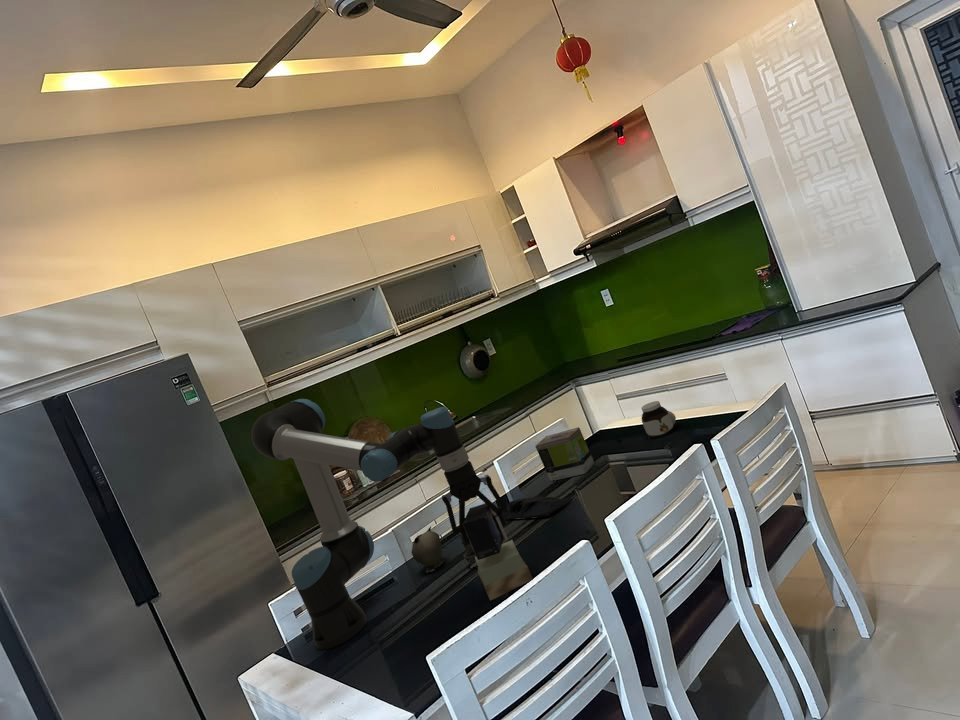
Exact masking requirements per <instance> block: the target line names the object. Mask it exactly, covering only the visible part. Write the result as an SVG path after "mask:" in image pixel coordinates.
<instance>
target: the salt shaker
mask: <svg viewBox="0 0 960 720" xmlns="http://www.w3.org/2000/svg"><path fill="white" fill-rule="evenodd" d="M458 534H459V537H460V539H461V544H462V545H463V547H464V549H465V553H464V554H463V559H464V560H465V561H466V562H468V563H474V562H476V560H475V556H476V554H475V552H474V550H473V548H472V545H471V543H470V542H469V543H465V541H464V538H463V536H462V534H461V533H458Z"/></svg>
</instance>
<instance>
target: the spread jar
mask: <svg viewBox="0 0 960 720" xmlns="http://www.w3.org/2000/svg"><path fill="white" fill-rule="evenodd" d="M640 409H641V411H642V414H641V423H642V426H643V428H644V430H645V432H646V434H647V435H648V436H649V437H651V438H654V439H657V438H658V439H659V438H663V437H665V436H667V435H669V434H670V433H671V432H672V431H673V429H674V425H675V424H676V418H677V417H676V414H674V413H673V412H672V411H671V410H668V409H667V408H665V407H663V406H661V402H660V401H659V400H654V401H651V402H648V403H645V404H644V405H642V406H641V408H640Z"/></svg>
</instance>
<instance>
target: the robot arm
mask: <svg viewBox="0 0 960 720" xmlns="http://www.w3.org/2000/svg"><path fill="white" fill-rule="evenodd" d="M325 424H326V417H325V414H324V412H323V410H322V409H321V407H320V405H318V404H317V403H316V402H313V401H312V400H310V399H306V398H298V399H295V400H292V401H289V402H287V403H285V404H283V405H281V406H279V407H277V408H275V409H272V410H271V411H268V412H266V413H264V414H261V416H260V417H258V418H257V419H256V421H255V422H254V423H253V426H252V428H251V434H250V435H251V436H250V437H251V441H252V444H253V446H254V448H255V449H256V450H257V452H258V453H259V454H261V455H262V456H264V457H267V458H270V459H274V460H278V461H286V460H289V458H290V459H293V462H294V463H295V467H296V468H297V471H298V474H299V476H300V478H301V481H302V484H303V486H304V489H305V492H306V495H307V496H308V499H309V502H310V504H311V506H312V509H313V512H314V514H315V516H316V519H317V522H318V524H319V527H320V528H321V532H322V533H321V534H320V537H319V540H320V544H321V545H322V546H320V547H316V548H314V549H312V550H310V551H309V552H308V553H306V554H304V555H302V557H300V558H299V559H298V561H296V563H295V564H294V565H293V567H292V568H291V569H292V570H291V577H292V580H293V584H294V586H295V588H296V589H297V591H298V593H299V596H300V598H301V600H302V602H303V604H304V606H305V608H306V611H307V613H308V614H309V618H310V619H311V620H310V621H311V629H312V639H313V642H314V644H315V647H316V648H317V649H318V650H321V651H324V650H330V649H333V648H335V647H337V646H340V645H341V644H344V643H346V642H347V641H349V640H351V639H352V638H353V637H355V636H356V635H357V634H358V633H359V632H360V631H362V629H363V628H364V627H365V626H366V624H367V621H368V617H367V615H366V613H365V611H364V609H362V607H361V606H359V604H358V603H357V602H356V601H355V600H354V599H353V598H352V597H351V595H350V594H349V592H348V589H347V587H346V584H347V583H348V582H349V581H350V580H351V579H352V578H353V577H354V576H356V574H357V573H358V572H360V571H361V570H362V569H363V568H365V567H366V565H367V564H368V563H369V562H370V561H371V559H372V557H373V555H374V552H375V544H374V540H373V537H372V535H371V534H370V532H369V531H368V530H366V528H365V527H364V526H361V525H359V524H358V522H357V521H355V520H353V519H351V518H350V515H349V512H348V511H347V508H346V505H345V503H344V500H343V497H342V495H341V492H340V490H339V487H338V485H337V482H336V479H335V477H334V475H333V473H332V472H333V471H332V470H331V467H330V466H332V467H337V468H338V467H339V468H342V469H349V470H355V471H359V472H361V473H362V474H363V475H364V476H365V477H366V478H367V479H369V481H371V482H376V483H377V482H382V481H384V480H386V479H388V478H389V477H391V476H392V475H394V474H395V473H396V472H397V471H398V470H399V469H400V468H402V467H403V466H404V465H406V464H407V463H409V462H410V461H411V460H412V459H414V458H415V457H416V456H418V455H420V454H423V453H425V452H430V451H433V452H434V455H436V459H437V461H438V463H439V465H440V468H441V469H442V471H444V473H443V475H444V476H445V479H446V481H447V484H448V486H449V492H448V493H445V494H442V496H441V499H442V500H441V501H442V502H443V503H444V505H445V506H446V507H445V508H446V511H447V515H448V520H449V523H450V526H451V530H452V533H453V534H459V533H461V534H462V536H463V538H464V541H465V543H469V542H470V540H469V538H468V535H467V533H466V531H465V529H464V526H463V521H464V519H465V517H466V502H468V501H470V500H471V499H474V498H477V497H478V498H479V499H480V500H481V501H482V502H483V504H487V505H488V506H489V507H490V508H491V509H492V510H493V511H494V513H495V514H494V517H495V519H496V521H497V524H498V526H499V528H500V531H501V533H502V535H503V537H504V539H503V540H505V541H507V540H508V536H507V534H506V531H505V529H504V526H506V525H507V524H506V519H505V518H504V516H503V512H504V511H505V510H506V509H507V505H506V504H505V502H504V501H503V499H502V497H501V496H500V494H499V493H498V491H497V490H496V488H495V487H494V485H493V481H492V478H491V476H490V475H489V474H486V475H484V476H482V477H479V476H478V475H477V473H476V470H475V468H474V466H473V464H472V462H471V461H470V460H469V459H470V457H469V455H468V452H467V450H466V447H465V445H464V444H463V441H462V439H461V437H460V435H459V431H458V430H457V427H456V424H455V420H454V419H453V418H452V416H451V414H450V412H449V409H448V408H446V407H444V406H441V407H438V408H434V409H433V410H430V411H427V412H426V413H424V414H422V415H421V416H420V423H418V424H414V425H411V426H408V427H405V428H400V429H398V430H397V431H395V432H394V431H393V432H391V433H390V435H389V437H388V439H387V440H386V441H384V442H381V443H380V442H372V441H365V440H360V439H354V438H348V437H343V436H336V435H329V434H324V433H323V432H322V431H323V430H324V428H325ZM481 483H483V485H484V486H487V488H488V489H489V491H490V492H491V494H492V495H493V497H494V499H495V500H496V502H497V503H498V505H499V506H496V504H494V503H493V502H492V501H491V500H490V499H489V498H488V497H487V496H485V494H484V493H483V492H482V491H480V488H481ZM452 497H454V498H455V499H458V525H457V523H456V520H455V513H454V512H453V508H452V504H451V503H452V500H453V499H452ZM470 543H471V542H470ZM472 548H473V547H472ZM473 550H474V549H473Z"/></svg>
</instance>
